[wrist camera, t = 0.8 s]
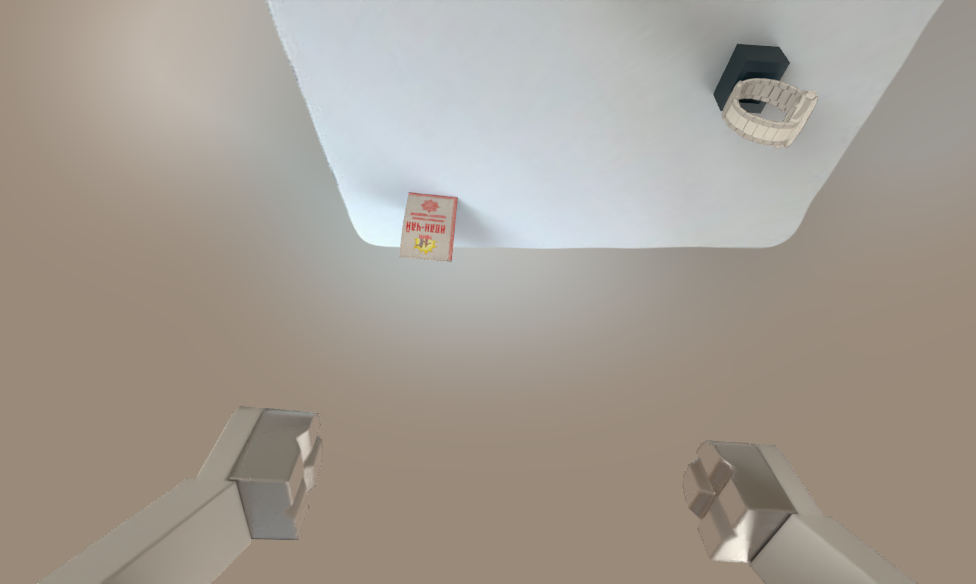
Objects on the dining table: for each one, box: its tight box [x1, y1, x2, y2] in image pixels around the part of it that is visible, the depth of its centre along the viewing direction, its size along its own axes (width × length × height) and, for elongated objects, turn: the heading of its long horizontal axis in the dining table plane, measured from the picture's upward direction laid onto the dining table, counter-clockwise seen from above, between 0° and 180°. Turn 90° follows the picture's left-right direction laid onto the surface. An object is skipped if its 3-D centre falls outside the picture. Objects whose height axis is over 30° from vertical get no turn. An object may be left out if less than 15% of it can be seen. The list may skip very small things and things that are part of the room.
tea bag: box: [399, 193, 457, 262], centre depth 64 cm, size 4×7×10 cm, turn 83°
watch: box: [713, 44, 818, 148], centre depth 47 cm, size 6×8×11 cm
